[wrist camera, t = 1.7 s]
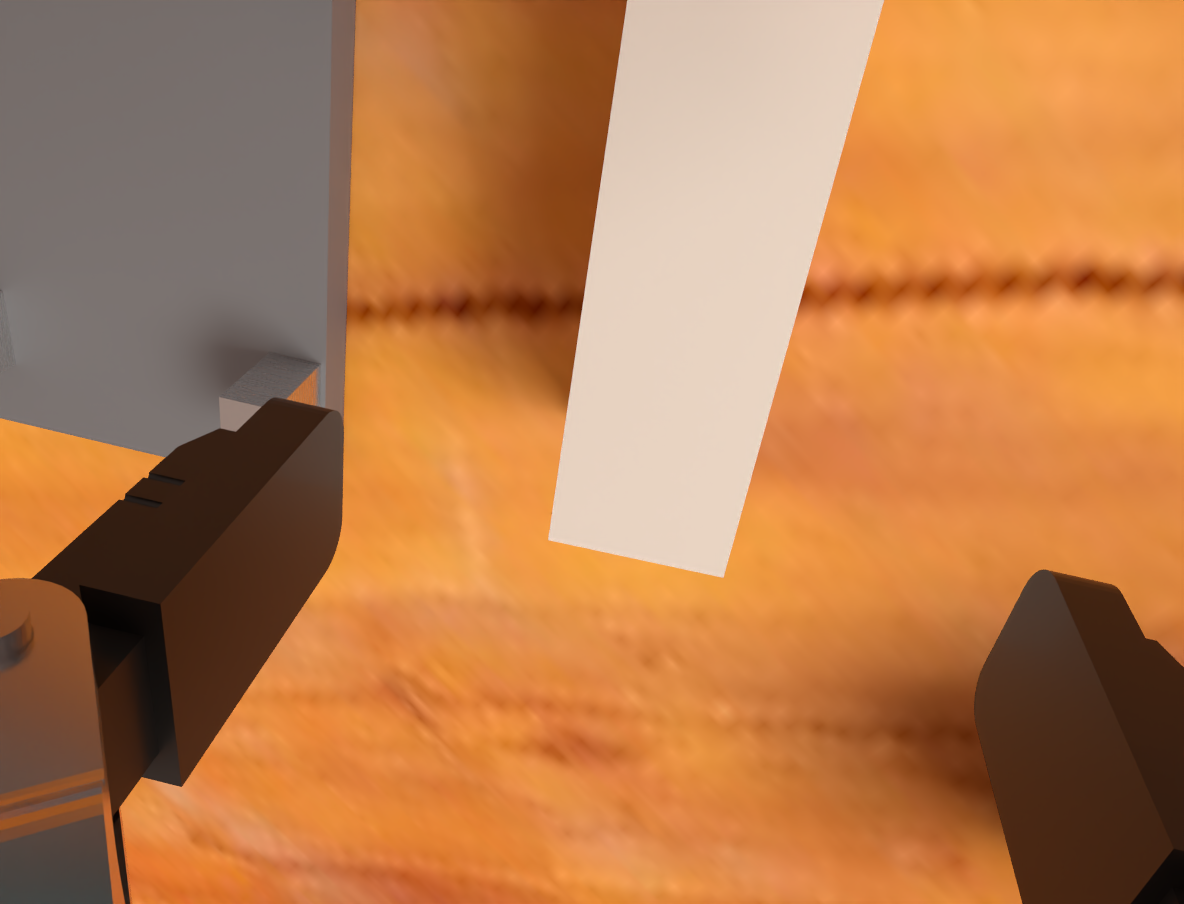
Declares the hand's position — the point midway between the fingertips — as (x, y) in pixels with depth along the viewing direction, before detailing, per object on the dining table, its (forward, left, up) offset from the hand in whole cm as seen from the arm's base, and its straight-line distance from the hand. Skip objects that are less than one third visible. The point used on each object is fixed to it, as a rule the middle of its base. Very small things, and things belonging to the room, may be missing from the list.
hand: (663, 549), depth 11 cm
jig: (+2, -16, -16) cm, 23 cm away
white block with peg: (0, 0, -16) cm, 16 cm away
